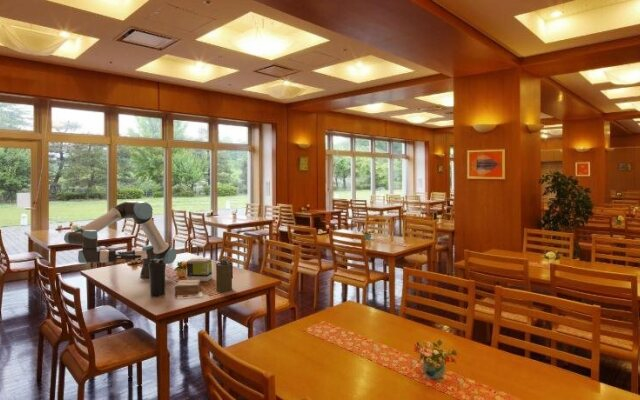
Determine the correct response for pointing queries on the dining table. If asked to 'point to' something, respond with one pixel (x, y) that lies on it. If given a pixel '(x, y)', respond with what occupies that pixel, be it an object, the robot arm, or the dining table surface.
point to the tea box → (199, 269)
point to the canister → (224, 276)
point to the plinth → (187, 287)
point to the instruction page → (189, 296)
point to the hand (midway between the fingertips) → (146, 254)
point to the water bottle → (157, 277)
